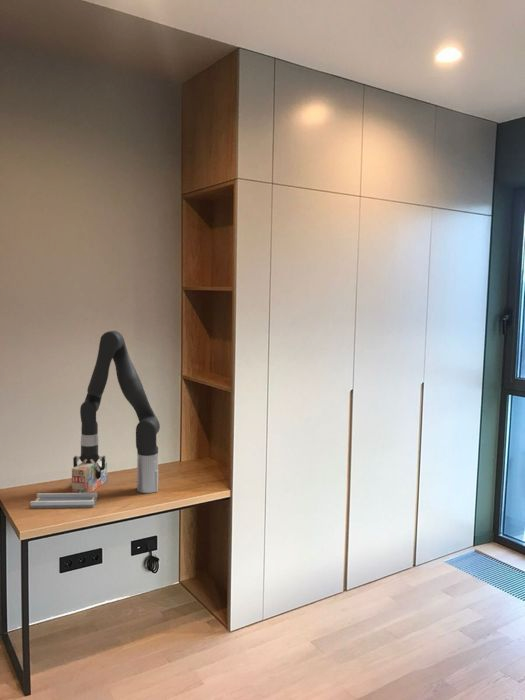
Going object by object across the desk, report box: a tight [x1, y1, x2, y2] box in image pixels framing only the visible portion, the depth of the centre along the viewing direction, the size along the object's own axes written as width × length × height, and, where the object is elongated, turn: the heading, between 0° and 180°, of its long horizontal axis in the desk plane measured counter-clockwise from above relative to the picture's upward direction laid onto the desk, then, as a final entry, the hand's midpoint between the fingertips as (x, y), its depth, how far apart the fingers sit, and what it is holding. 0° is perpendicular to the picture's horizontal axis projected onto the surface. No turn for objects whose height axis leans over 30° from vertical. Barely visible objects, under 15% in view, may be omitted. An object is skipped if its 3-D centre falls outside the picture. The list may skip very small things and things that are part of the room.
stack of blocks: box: [71, 460, 108, 493], centre depth 256 cm, size 21×6×12 cm, turn 169°
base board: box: [30, 492, 98, 509], centre depth 238 cm, size 25×10×3 cm, turn 97°
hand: (89, 478), depth 256 cm, fingers closed on stack of blocks, 7 cm apart
